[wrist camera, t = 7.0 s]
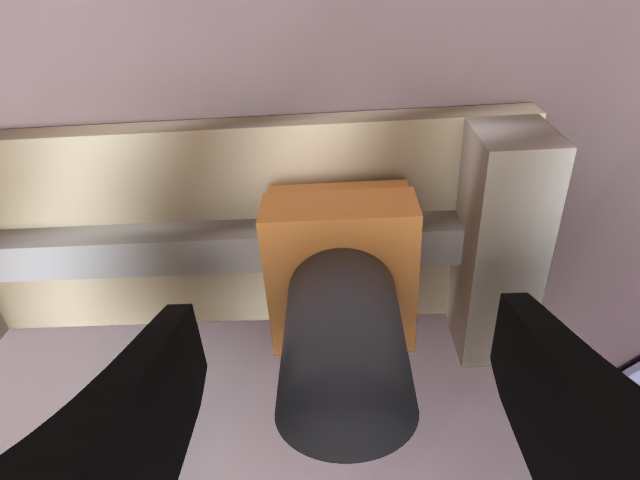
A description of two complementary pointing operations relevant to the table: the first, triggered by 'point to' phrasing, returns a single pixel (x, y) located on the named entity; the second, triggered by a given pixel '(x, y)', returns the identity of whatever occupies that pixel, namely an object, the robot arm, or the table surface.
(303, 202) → the carriage
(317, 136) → the rail
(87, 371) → the table surface
